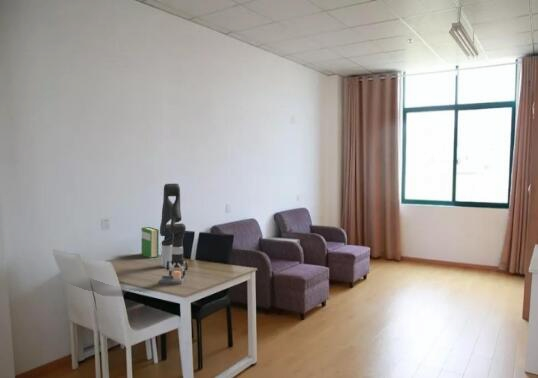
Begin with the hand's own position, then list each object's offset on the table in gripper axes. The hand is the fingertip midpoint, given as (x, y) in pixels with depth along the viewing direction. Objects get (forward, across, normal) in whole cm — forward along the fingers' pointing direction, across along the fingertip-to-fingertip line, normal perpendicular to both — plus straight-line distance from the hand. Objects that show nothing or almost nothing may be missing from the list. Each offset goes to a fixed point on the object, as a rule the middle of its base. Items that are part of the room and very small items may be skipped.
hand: (177, 276), depth 269 cm
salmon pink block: (+4, 0, 0) cm, 4 cm away
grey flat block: (+4, +4, 0) cm, 6 cm away
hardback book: (+4, +41, -75) cm, 86 cm away
